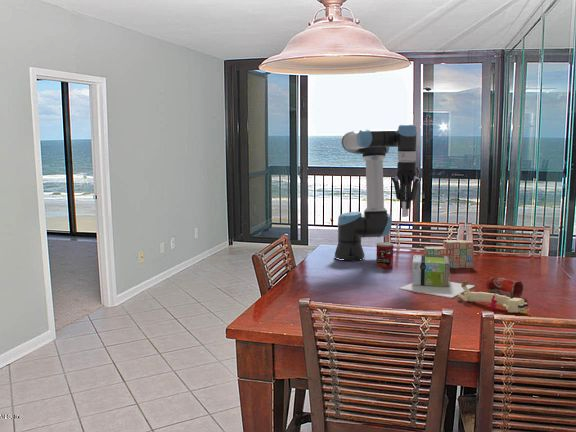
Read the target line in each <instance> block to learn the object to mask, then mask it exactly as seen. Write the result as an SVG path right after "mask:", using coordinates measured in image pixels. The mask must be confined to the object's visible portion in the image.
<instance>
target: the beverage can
mask: <svg viewBox="0 0 576 432" xmlns="http://www.w3.org/2000/svg"><path fill="white" fill-rule="evenodd" d="M486 289H487V291H488V293H493V294H499V295H502V293H501V292H503V293H504V294H505V296H507V297H510V298H511V299H512V298H521V296H522V294H523V290H524V283H523V282H522V281H519V280H515V279H510V278H505V277H499V276H490V277H489V278H488V279H487V281H486Z"/></svg>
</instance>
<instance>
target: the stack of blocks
mask: <svg viewBox="0 0 576 432" xmlns="http://www.w3.org/2000/svg"><path fill="white" fill-rule="evenodd" d="M423 255H425V256H448V259H449V265H450V269H472V268H473V261H474V259H473V257H474V242H473V241H471V240H468V239H467V240H466V239H464V240H463V239H454V240H453V239H451V240H450V239H448V240H446V239H443V240H442V246H424V247H423Z"/></svg>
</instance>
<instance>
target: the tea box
mask: <svg viewBox="0 0 576 432" xmlns="http://www.w3.org/2000/svg"><path fill="white" fill-rule="evenodd" d="M450 269H451V268H450V265H449V259H448V256H425V255H424V254H423V255H422V254H420V255H419V254H414V255H413V256H412V264H411V283H412V285H423V286H441V287H449V282H450V277H451V276H450V275H451V272H450Z"/></svg>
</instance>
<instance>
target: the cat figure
mask: <svg viewBox="0 0 576 432" xmlns="http://www.w3.org/2000/svg"><path fill="white" fill-rule="evenodd" d="M461 284H462V285H461V287H462V288H463V289H464V290H465V292H463V293H461V294H458V295H457V301H458V302H463V301H464V302H471V303H473V302H476V303H477V302H478V303H481V302H483V303H490V307H491V309H492V311H495V308H496V307H497V305H498V306H499V305H500V306H502V308H505V310H507V313H520V314H527V312H528V311H530V308H526V307H529V304H528V302H525V301H526V300H525V299H524V298H521V297H520V298H516V297H515V298H510V297H507V296H505V294H504V293H503V292H501V293H502V295H499V294H493V293H491V292H483V291H478V292H477V291H471V290H470V289H468V288H467V287H466V285H469V281H468V280H463V282H462V283H461Z"/></svg>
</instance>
